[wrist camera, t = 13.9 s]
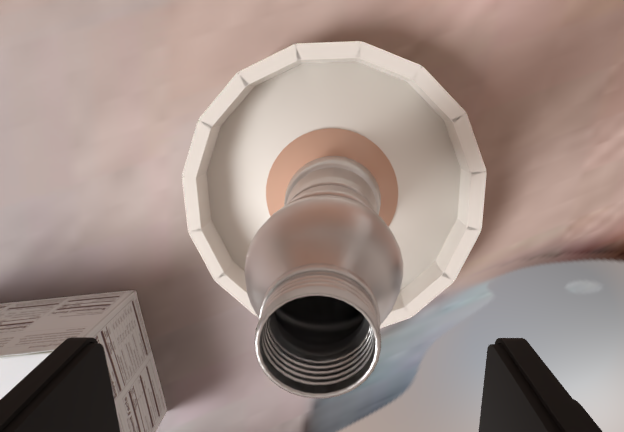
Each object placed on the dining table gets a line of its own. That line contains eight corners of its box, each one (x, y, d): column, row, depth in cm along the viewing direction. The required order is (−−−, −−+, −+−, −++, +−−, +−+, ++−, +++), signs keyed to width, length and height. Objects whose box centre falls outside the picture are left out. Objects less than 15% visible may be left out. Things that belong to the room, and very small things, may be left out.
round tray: (186, 54, 30) (166, 48, 27) (480, 43, 29) (498, 35, 25) (213, 311, 36) (199, 333, 32) (459, 313, 34) (472, 336, 31)
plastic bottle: (389, 218, 31) (464, 407, 12) (306, 246, 32) (253, 460, 13) (361, 137, 30) (397, 206, 11) (275, 169, 31) (166, 284, 12)
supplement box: (9, 423, 41) (-84, 513, 32) (-38, 304, 38) (-157, 368, 29) (170, 412, 39) (120, 504, 30) (137, 287, 36) (69, 350, 27)
